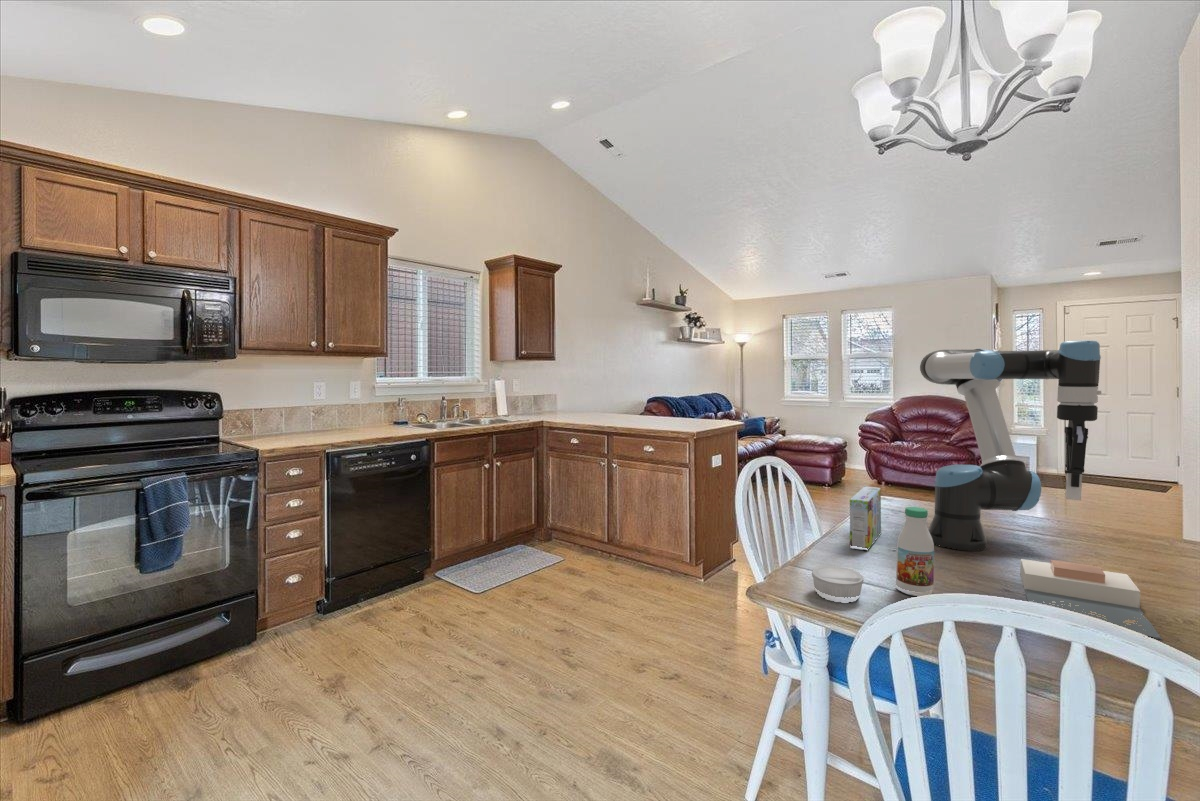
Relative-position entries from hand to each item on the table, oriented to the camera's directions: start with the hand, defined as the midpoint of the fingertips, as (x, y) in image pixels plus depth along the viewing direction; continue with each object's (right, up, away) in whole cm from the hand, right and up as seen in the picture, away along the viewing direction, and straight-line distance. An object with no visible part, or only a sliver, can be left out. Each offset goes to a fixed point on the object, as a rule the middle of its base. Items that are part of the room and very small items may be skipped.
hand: (1073, 499), depth 137 cm
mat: (-12, -21, -17) cm, 30 cm away
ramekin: (-62, -22, -7) cm, 66 cm away
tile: (-5, -17, -7) cm, 19 cm away
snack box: (-36, -19, +33) cm, 52 cm away
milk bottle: (-43, -21, -6) cm, 48 cm away
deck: (-4, -21, -6) cm, 22 cm away
